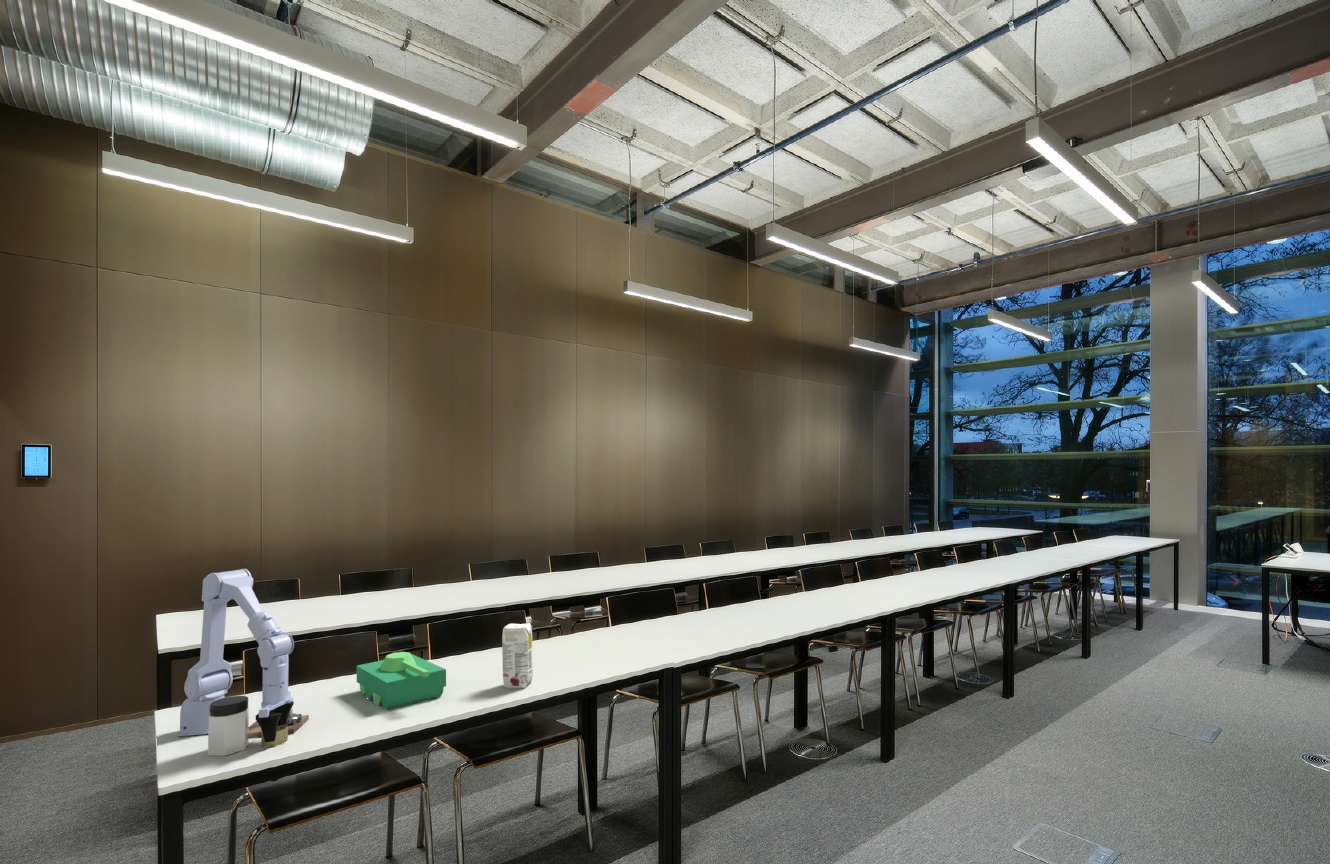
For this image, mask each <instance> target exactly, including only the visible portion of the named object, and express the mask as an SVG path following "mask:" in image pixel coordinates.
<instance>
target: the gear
mask: <svg viewBox="0 0 1330 864" xmlns="http://www.w3.org/2000/svg"><path fill="white" fill-rule="evenodd" d="M299 722H302V713H296V712H295V713H293V717H291V718H288V719H287V723H286V725H287V726H290V725H296V724H297V723H299Z"/></svg>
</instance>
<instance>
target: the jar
mask: <svg viewBox="0 0 1330 864" xmlns="http://www.w3.org/2000/svg"><path fill="white" fill-rule="evenodd" d="M209 711H210V716H209V729H208V734H207V735H208V737H207V739H208V741H207V749H208V750H207V756H208V757H210V756H211V757H226V756H229V755H232V754H235V753H239V752H243V751H245V750H246V748H247V746H248V745H249V738H248V732H249V726H250V725H249V724H250V723H249V721H250V720H249V719H250V715H249V714H250V713H249V712H250V706H249V696H246V695H233V696H227V697H226V696H225V697H224V698H222V699H219V700H216V701H214V702H212V703H211V704H210V709H209Z"/></svg>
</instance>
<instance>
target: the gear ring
mask: <svg viewBox="0 0 1330 864" xmlns="http://www.w3.org/2000/svg"><path fill="white" fill-rule="evenodd" d="M260 738H261V739H260V740H261V744H260V745H261V747H264V746H265V747H264V748H270V747H269V746H273V747H278V746H281V745H283V744H282V743H284V742H285V743H287V741H288V740H289V734H288V726H287V725H284V724H283V725H278V726H277V733H276V738H275V741H274V742H265V740H264V737H263V733H262V737H260ZM285 743H284V744H285ZM280 744H281V745H280ZM277 745H278V746H277Z"/></svg>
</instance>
